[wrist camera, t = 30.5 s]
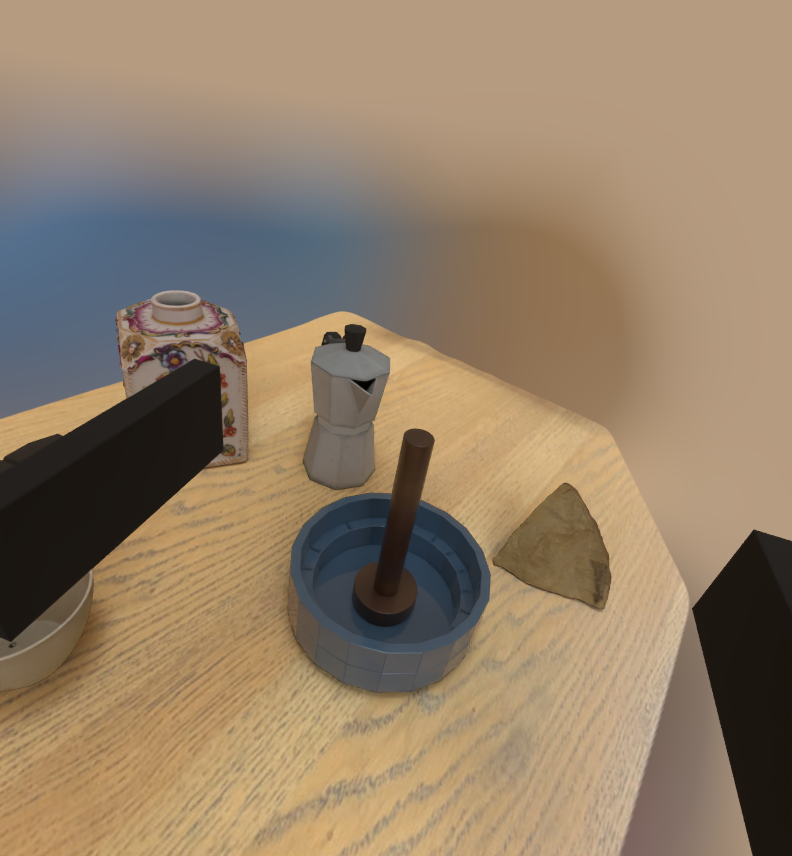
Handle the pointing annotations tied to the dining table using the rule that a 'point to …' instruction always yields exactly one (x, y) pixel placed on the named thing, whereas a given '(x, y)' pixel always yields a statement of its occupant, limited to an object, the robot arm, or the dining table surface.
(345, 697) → the dining table surface
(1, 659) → the small beige bowl
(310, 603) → the bowl
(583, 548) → the rock
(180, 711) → the dining table surface
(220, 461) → the decorative jar
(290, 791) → the dining table surface
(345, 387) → the coffee maker
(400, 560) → the upright rod on disc
